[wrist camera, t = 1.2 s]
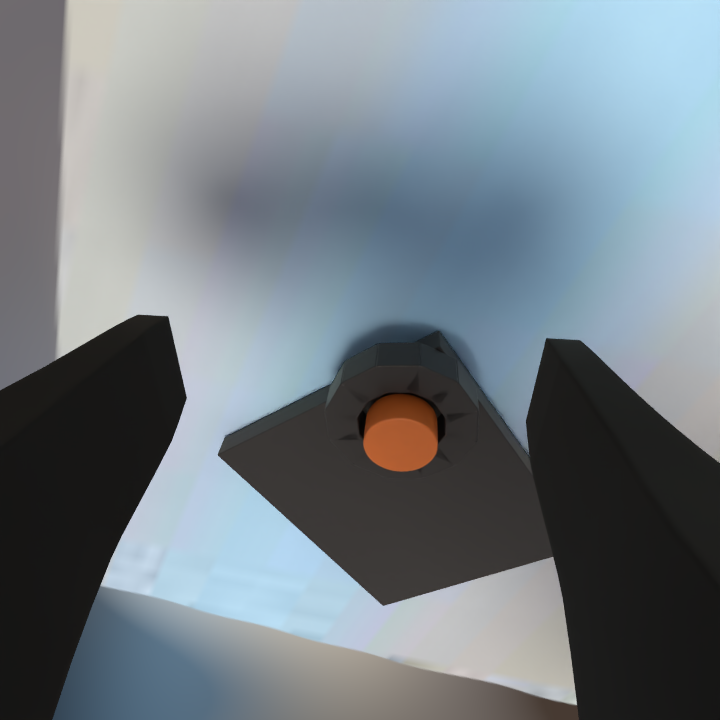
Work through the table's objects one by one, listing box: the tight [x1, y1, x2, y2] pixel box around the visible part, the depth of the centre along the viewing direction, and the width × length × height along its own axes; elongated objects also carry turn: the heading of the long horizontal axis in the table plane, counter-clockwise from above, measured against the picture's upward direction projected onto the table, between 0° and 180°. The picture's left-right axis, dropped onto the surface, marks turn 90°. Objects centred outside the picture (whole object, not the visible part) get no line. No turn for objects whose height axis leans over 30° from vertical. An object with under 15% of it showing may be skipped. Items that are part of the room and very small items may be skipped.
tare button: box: [363, 394, 438, 472], centre depth 20 cm, size 3×3×1 cm
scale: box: [218, 331, 553, 606], centre depth 24 cm, size 14×11×2 cm
